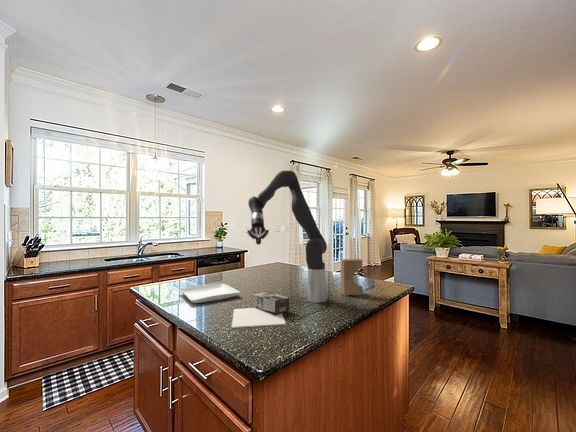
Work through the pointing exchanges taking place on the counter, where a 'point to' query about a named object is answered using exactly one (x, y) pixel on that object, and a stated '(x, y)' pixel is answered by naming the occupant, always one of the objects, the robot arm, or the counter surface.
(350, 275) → the decorative block
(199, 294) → the square plate
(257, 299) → the coffee box
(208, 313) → the counter surface
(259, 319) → the mat
